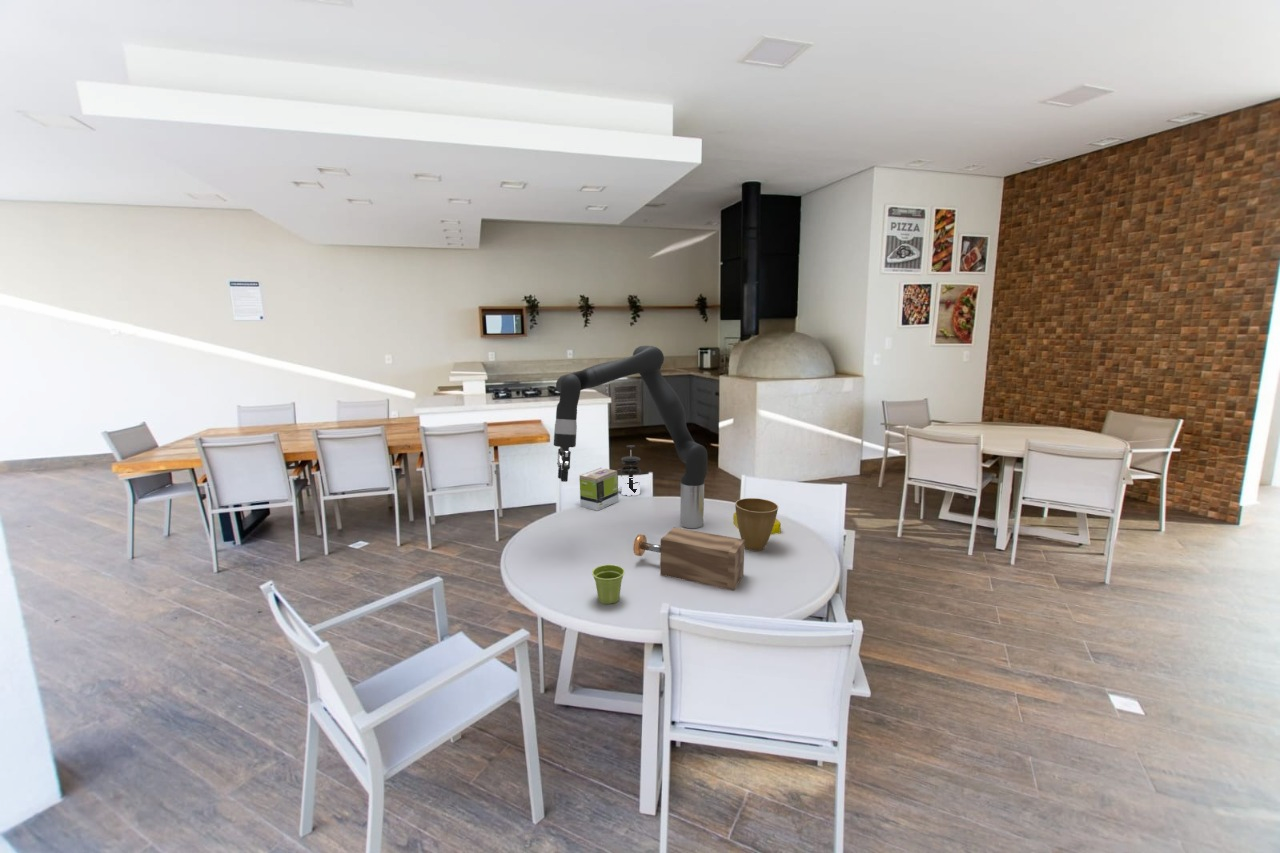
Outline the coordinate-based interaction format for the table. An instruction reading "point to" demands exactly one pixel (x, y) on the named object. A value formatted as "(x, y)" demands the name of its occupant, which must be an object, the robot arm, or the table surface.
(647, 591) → the table surface
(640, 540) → the plunger
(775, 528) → the element tile
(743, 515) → the plant pot
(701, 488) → the robot arm
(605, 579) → the plant pot
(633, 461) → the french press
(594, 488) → the tea box
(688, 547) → the box
